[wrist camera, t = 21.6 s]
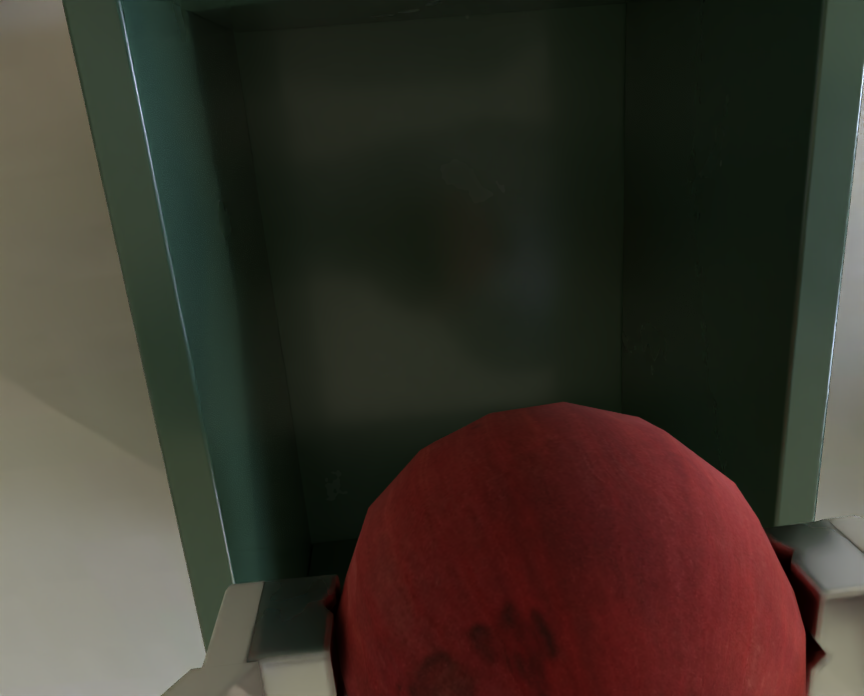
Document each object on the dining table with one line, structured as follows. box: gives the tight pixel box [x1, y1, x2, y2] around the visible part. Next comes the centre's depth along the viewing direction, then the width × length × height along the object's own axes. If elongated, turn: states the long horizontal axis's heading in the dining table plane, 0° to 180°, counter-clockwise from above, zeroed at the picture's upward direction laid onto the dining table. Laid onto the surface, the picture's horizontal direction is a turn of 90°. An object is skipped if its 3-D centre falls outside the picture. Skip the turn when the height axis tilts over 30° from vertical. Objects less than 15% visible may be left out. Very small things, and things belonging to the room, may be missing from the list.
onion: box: [335, 402, 806, 696], centre depth 9 cm, size 6×6×8 cm
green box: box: [62, 0, 864, 653], centre depth 17 cm, size 17×12×10 cm
